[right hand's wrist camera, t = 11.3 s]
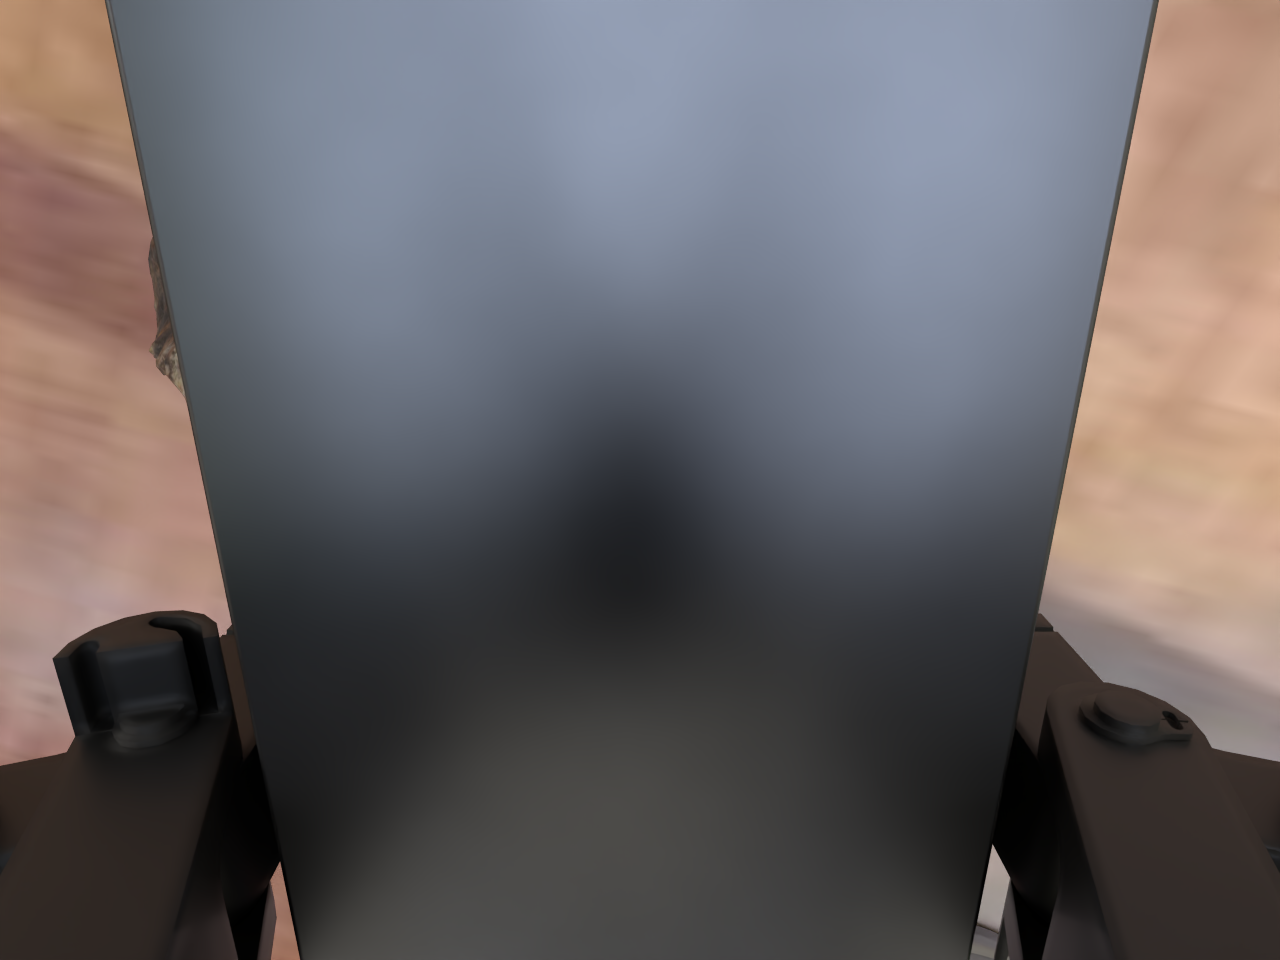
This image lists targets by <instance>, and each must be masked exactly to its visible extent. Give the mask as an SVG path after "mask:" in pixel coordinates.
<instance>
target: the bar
mask: <svg viewBox="0 0 1280 960" xmlns="http://www.w3.org/2000/svg"><path fill="white" fill-rule="evenodd" d="M1158 2H1159V0H105V3H106V8H107V13H108V18H109V23H110V28H111V33H112V38H113V43H114V48H115V53H116V57H117V62H118V67H119V72H120V77H121V82H122V87H123V92H124V97H125V102H126V107H127V111H128V116H129V121H130V126H131V131H132V136H133V141H134V146H135V151H136V156H137V161H138V165H139V170H140V175H141V180H142V185H143V190H144V195H145V200H146V205H147V210H148V215H149V219H150V224H151V229H152V234H153V239H154V244H155V249H156V254H157V259H158V264H159V269H160V273H161V278H162V283H163V288H164V293H165V298H166V303H167V308H168V313H169V318H170V323H171V327H172V332H173V337H174V342H175V347H176V352H177V357H178V362H179V367H180V372H181V377H182V381H183V386H184V391H185V396H186V401H187V406H188V411H189V416H190V421H191V426H192V430H193V435H194V440H195V445H196V450H197V455H198V460H199V465H200V470H201V475H202V480H203V484H204V489H205V494H206V499H207V504H208V509H209V514H210V519H211V524H212V529H213V534H214V538H215V543H216V548H217V553H218V558H219V563H220V568H221V573H222V578H223V583H224V588H225V592H226V597H227V602H228V607H229V612H230V617H231V622H232V627H233V632H234V637H235V642H236V646H237V651H238V656H239V661H240V666H241V671H242V676H243V681H244V686H245V691H246V696H247V700H248V705H249V710H250V715H251V720H252V725H253V730H254V735H255V740H256V745H257V750H258V754H259V759H260V764H261V769H262V774H263V779H264V784H265V789H266V794H267V799H268V804H269V808H270V813H271V818H272V823H273V828H274V833H275V838H276V843H277V848H278V853H279V857H280V862H281V867H282V872H283V877H284V882H285V887H286V892H287V897H288V902H289V907H290V911H291V916H292V921H293V926H294V931H295V936H296V941H297V946H298V951H299V956H300V960H970V955H971V950H972V945H973V940H974V935H975V930H976V925H977V920H978V914H979V909H980V904H981V899H982V894H983V889H984V884H985V879H986V874H987V869H988V864H989V859H990V854H991V849H992V843H993V838H994V833H995V828H996V823H997V818H998V813H999V808H1000V803H1001V798H1002V793H1003V788H1004V783H1005V778H1006V772H1007V767H1008V762H1009V757H1010V752H1011V747H1012V742H1013V737H1014V732H1015V727H1016V722H1017V717H1018V712H1019V707H1020V702H1021V696H1022V691H1023V686H1024V681H1025V676H1026V671H1027V666H1028V661H1029V656H1030V651H1031V646H1032V641H1033V636H1034V631H1035V625H1036V620H1037V615H1038V610H1039V605H1040V600H1041V595H1042V590H1043V585H1044V580H1045V575H1046V570H1047V565H1048V560H1049V555H1050V549H1051V544H1052V539H1053V534H1054V529H1055V524H1056V519H1057V514H1058V509H1059V504H1060V499H1061V494H1062V489H1063V484H1064V478H1065V473H1066V468H1067V463H1068V458H1069V453H1070V448H1071V443H1072V438H1073V433H1074V428H1075V423H1076V418H1077V413H1078V407H1079V402H1080V397H1081V392H1082V387H1083V382H1084V377H1085V372H1086V367H1087V362H1088V357H1089V352H1090V347H1091V342H1092V337H1093V331H1094V326H1095V321H1096V316H1097V311H1098V306H1099V301H1100V296H1101V291H1102V286H1103V281H1104V276H1105V271H1106V266H1107V260H1108V255H1109V250H1110V245H1111V240H1112V235H1113V230H1114V225H1115V220H1116V215H1117V210H1118V205H1119V200H1120V195H1121V189H1122V184H1123V179H1124V174H1125V169H1126V164H1127V159H1128V154H1129V149H1130V144H1131V139H1132V134H1133V129H1134V124H1135V119H1136V113H1137V108H1138V103H1139V98H1140V93H1141V88H1142V83H1143V78H1144V73H1145V68H1146V63H1147V58H1148V53H1149V48H1150V42H1151V37H1152V32H1153V27H1154V22H1155V17H1156V12H1157V7H1158Z"/></svg>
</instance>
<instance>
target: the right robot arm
mask: <svg viewBox="0 0 1280 960" xmlns="http://www.w3.org/2000/svg"><path fill="white" fill-rule="evenodd" d="M53 662H54V665H55V669H56V672H57V676H58V679H59V682H60V686H61V689H62V692H63V696H64V699H65V703H66V706H67V709H68V713H69V716H70V720H71V723H72V726H73V730H74V733H75V738H74V740H73V742H72V744H71V745H70V747H69V749H68V751H67V752H66V753H62V754H58V755H53V756H48V757H43V758H38V759H33V760H28V761H23V762H18V763H13V764H7V765H2V766H0V960H271V954H272V946H273V939H274V932H275V925H276V918H277V917H276V909H275V901H274V896H273V891H272V886H271V882H270V879H271V878H272V876H273V874H274V872H275V870H276V868H277V866H278V864H279V862H280V857H279V853H278V848H277V843H276V838H275V833H274V828H273V823H272V818H271V813H270V808H269V804H268V799H267V794H266V789H265V784H264V779H263V774H262V769H261V764H260V759H259V754H258V750H257V745H256V740H255V735H254V730H253V725H252V720H251V715H250V710H249V705H248V700H247V696H246V691H245V686H244V681H243V676H242V671H241V666H240V661H239V656H238V651H237V646H236V642H235V637H234V632H233V627H232V625H231V626H230V627H229V628H228V629H227V634H226V635H222V636H221V637H220V638H219V633H218V628H217V623H216V622H214V621H213V620H211V619H210V618H209V617H207V616H206V615H204V614H200V613H194V612H189V611H184V610H179V611H157V612H151V613H146V614H141V615H136V616H131V617H126V618H123V619H120V620H117V621H114V622H112V623H109V624H106V625H103V626H100V627H98V628H95V629H93V630H91V631H89V632H87V633H86V634H84V635H82V636H80V637H79V638H77V639H75V640H73V641H71V642H70V643H68V644H67V645H66V646H65V647H64V648H63V649H62V650H61V651H60V652H59V653H58V654H57V655H56V656H55V657H54V658H53ZM992 844H993V845H994V847H995V849H996V851H997V853H998V855H999V857H1000V859H1001V861H1002V863H1003V865H1004V866H1005V868H1006V870H1007V872H1008V874H1009V876H1010V882H1009V886H1008V891H1007V896H1006V901H1005V906H1004V910H1003V915H1002V920H1001V925H1000V929H999V934H997V933H995V932H993V931H991V930H988V929H985V928H982V927H980V926H977V925H976V930H975V935H974V940H973V945H972V950H971V955H970V960H1280V762H1277V761H1272V760H1267V759H1262V758H1257V757H1251V756H1246V755H1241V754H1236V753H1231V752H1226V751H1221V750H1217V749H1214V748H1211V746H1210V744H1209V742H1208V740H1207V738H1206V736H1205V735H1204V734H1203V733H1202V731H1201V730H1200V729H1199V728H1198V727H1197V726H1196V724H1195V723H1194V722H1193V721H1192V720H1191V719H1190V718H1189V717H1188V716H1186V715H1185V714H1183V713H1182V712H1180V711H1179V710H1177V709H1176V708H1174V707H1173V706H1171V705H1170V704H1168V703H1167V702H1165V701H1163V700H1160V699H1158V698H1156V697H1153V696H1151V695H1149V694H1146V693H1144V692H1141V691H1139V690H1136V689H1132V688H1128V687H1124V686H1120V685H1115V684H1111V683H1104V682H1102V680H1101V679H1100V678H1099V677H1098V676H1097V675H1096V674H1095V673H1094V672H1093V670H1092V669H1091V668H1090V667H1089V666H1088V665H1087V664H1086V663H1085V662H1084V661H1083V659H1082V658H1081V657H1080V656H1079V655H1078V654H1077V653H1076V652H1075V651H1074V649H1073V648H1072V647H1071V646H1070V645H1069V644H1068V643H1067V642H1066V641H1065V640H1064V638H1063V637H1062V636H1061V635H1060V634H1059V633H1058V632H1054V631H1053V626H1052V625H1051V624H1050V623H1049V622H1048V621H1047V620H1046V619H1045V617H1044V616H1043V615H1042V614H1038V615H1037V620H1036V625H1035V631H1034V636H1033V641H1032V646H1031V651H1030V656H1029V661H1028V666H1027V671H1026V676H1025V681H1024V686H1023V691H1022V696H1021V702H1020V707H1019V712H1018V717H1017V722H1016V727H1015V732H1014V737H1013V742H1012V747H1011V752H1010V757H1009V762H1008V767H1007V772H1006V778H1005V783H1004V788H1003V793H1002V798H1001V803H1000V808H999V813H998V818H997V823H996V828H995V833H994V838H993V843H992Z"/></svg>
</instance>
